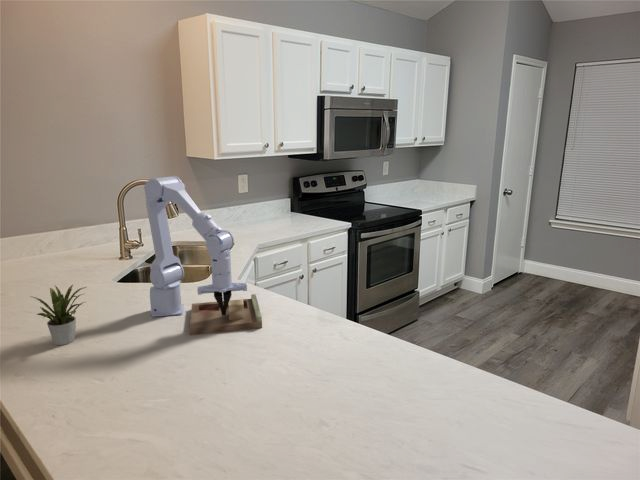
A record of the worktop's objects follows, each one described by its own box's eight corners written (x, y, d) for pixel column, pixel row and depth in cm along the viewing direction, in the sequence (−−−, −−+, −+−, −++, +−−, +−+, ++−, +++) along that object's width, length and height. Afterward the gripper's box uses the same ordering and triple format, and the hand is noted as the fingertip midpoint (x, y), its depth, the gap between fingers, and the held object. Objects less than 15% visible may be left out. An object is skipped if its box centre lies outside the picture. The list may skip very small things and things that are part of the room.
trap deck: (189, 335, 132) (188, 323, 131) (192, 309, 151) (191, 299, 150) (262, 327, 137) (261, 317, 136) (255, 303, 156) (255, 294, 155)
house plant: (108, 334, 133) (101, 281, 129) (68, 356, 120) (60, 297, 116) (70, 327, 137) (63, 276, 133) (28, 347, 124) (19, 291, 121)
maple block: (229, 319, 138) (228, 305, 137) (228, 313, 142) (228, 300, 141) (244, 318, 139) (243, 304, 138) (243, 312, 143) (242, 299, 142)
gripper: (196, 277, 131) (199, 321, 134) (246, 274, 134) (248, 317, 137) (196, 270, 137) (199, 312, 140) (245, 267, 140) (247, 308, 144)
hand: (223, 314), depth 139 cm, fingers closed
